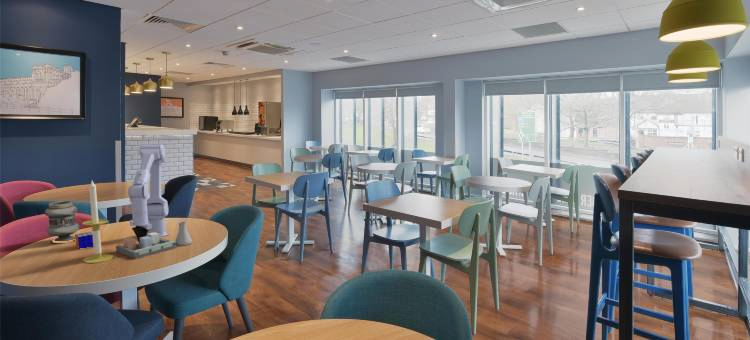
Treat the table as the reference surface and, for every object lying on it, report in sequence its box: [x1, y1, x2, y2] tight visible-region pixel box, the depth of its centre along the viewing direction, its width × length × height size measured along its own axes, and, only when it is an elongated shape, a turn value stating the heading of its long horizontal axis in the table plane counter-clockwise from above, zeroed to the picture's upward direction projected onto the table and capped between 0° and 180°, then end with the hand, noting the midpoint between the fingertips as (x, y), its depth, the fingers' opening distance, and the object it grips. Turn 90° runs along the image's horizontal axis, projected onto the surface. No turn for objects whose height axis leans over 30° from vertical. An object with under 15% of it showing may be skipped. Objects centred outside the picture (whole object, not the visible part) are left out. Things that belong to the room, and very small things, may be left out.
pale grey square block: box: [147, 232, 160, 243], centre depth 180 cm, size 4×3×4 cm
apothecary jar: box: [44, 200, 81, 241], centre depth 185 cm, size 12×12×18 cm
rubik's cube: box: [74, 231, 94, 250], centre depth 178 cm, size 6×6×6 cm
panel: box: [115, 237, 177, 260], centre depth 175 cm, size 16×17×3 cm
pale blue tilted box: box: [140, 236, 152, 247], centre depth 174 cm, size 4×3×4 cm
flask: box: [174, 221, 193, 246], centre depth 183 cm, size 7×7×10 cm
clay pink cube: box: [122, 237, 137, 249], centre depth 172 cm, size 4×3×4 cm
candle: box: [82, 180, 114, 264], centre depth 161 cm, size 10×10×32 cm
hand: (141, 242), depth 176 cm, fingers closed
